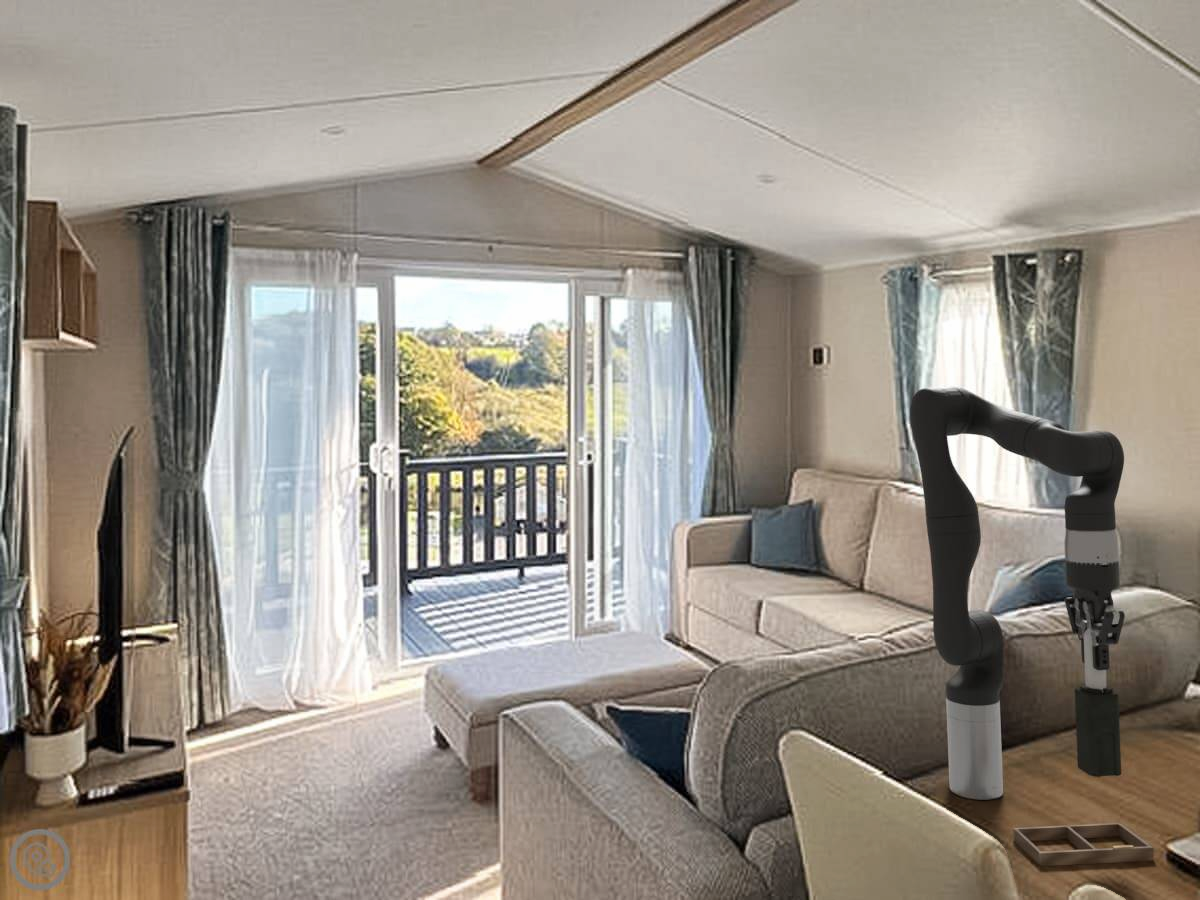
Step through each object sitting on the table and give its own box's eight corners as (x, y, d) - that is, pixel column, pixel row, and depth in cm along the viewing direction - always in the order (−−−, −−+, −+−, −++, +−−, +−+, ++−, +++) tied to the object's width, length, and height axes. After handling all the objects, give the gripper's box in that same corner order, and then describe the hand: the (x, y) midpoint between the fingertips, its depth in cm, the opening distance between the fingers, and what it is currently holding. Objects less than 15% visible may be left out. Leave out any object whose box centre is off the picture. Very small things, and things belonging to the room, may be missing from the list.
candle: (1105, 763, 148) (1099, 609, 148) (1124, 775, 143) (1118, 615, 143) (1074, 765, 148) (1068, 611, 148) (1092, 777, 143) (1086, 617, 143)
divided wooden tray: (1040, 866, 141) (1040, 851, 141) (1013, 840, 150) (1013, 826, 150) (1154, 860, 141) (1153, 845, 141) (1120, 834, 150) (1119, 820, 150)
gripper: (1046, 553, 152) (1050, 657, 152) (1091, 565, 138) (1095, 679, 138) (1091, 550, 152) (1095, 655, 152) (1141, 562, 138) (1145, 677, 138)
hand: (1095, 666), depth 145 cm, fingers closed on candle, 2 cm apart
